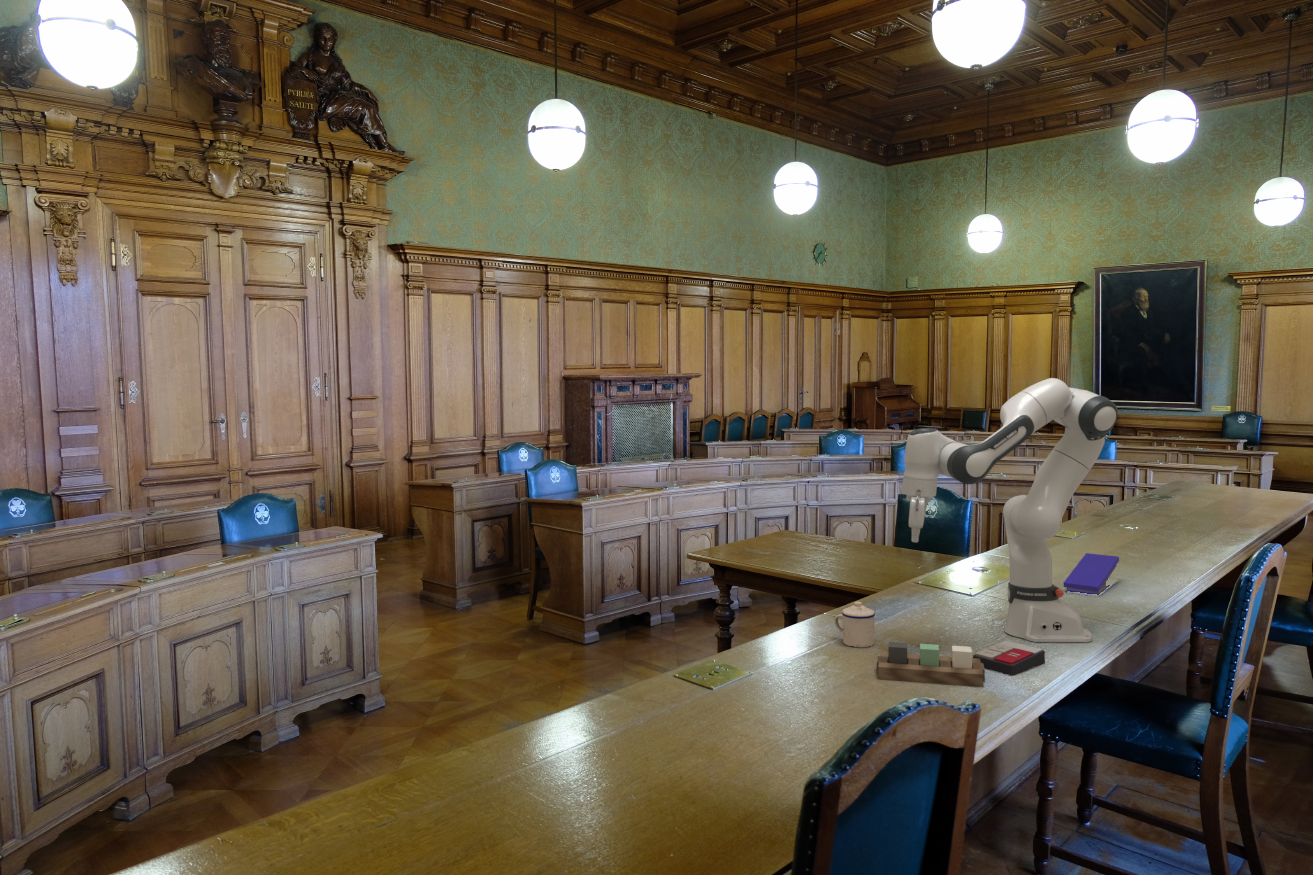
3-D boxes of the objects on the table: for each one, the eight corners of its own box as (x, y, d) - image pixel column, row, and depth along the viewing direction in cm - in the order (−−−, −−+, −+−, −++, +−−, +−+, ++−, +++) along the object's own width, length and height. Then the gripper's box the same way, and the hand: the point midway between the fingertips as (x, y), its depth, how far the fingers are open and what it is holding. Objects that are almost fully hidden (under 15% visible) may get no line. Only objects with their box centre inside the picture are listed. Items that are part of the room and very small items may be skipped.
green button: (938, 664, 204) (938, 644, 204) (939, 670, 200) (939, 649, 200) (920, 663, 206) (920, 643, 205) (920, 668, 201) (920, 648, 201)
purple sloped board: (1120, 582, 294) (1120, 555, 293) (1100, 598, 273) (1100, 569, 272) (1085, 578, 301) (1085, 552, 301) (1063, 593, 280) (1063, 565, 280)
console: (982, 670, 205) (982, 658, 205) (985, 686, 193) (985, 674, 193) (878, 663, 212) (878, 651, 212) (876, 678, 201) (876, 666, 201)
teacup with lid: (881, 642, 230) (880, 601, 230) (865, 650, 224) (864, 607, 223) (843, 634, 238) (842, 595, 238) (826, 642, 232) (826, 601, 231)
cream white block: (971, 666, 202) (970, 646, 202) (972, 672, 198) (971, 652, 198) (952, 665, 203) (951, 645, 203) (952, 671, 199) (952, 650, 199)
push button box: (971, 652, 209) (1005, 637, 218) (972, 668, 209) (1005, 653, 218) (1012, 662, 200) (1045, 647, 209) (1012, 679, 201) (1045, 663, 209)
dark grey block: (907, 662, 207) (907, 642, 206) (907, 667, 202) (906, 647, 202) (889, 660, 208) (889, 641, 208) (888, 666, 204) (888, 646, 203)
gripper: (930, 495, 211) (926, 547, 212) (932, 483, 230) (928, 531, 232) (905, 492, 213) (901, 544, 214) (909, 481, 232) (905, 529, 234)
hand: (915, 538), depth 223 cm, fingers open, 8 cm apart
